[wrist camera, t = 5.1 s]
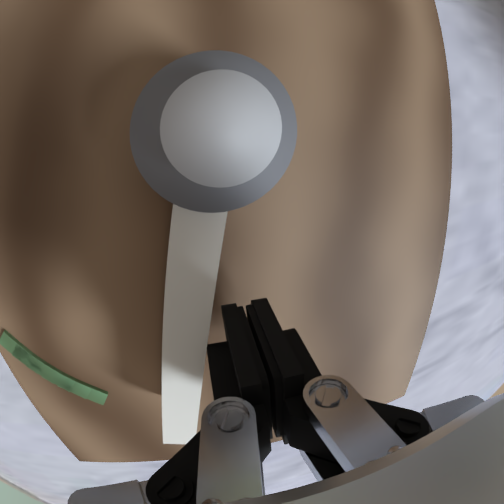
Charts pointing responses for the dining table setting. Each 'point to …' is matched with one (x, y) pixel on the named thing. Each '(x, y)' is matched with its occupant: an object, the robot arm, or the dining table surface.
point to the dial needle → (204, 193)
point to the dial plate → (238, 221)
